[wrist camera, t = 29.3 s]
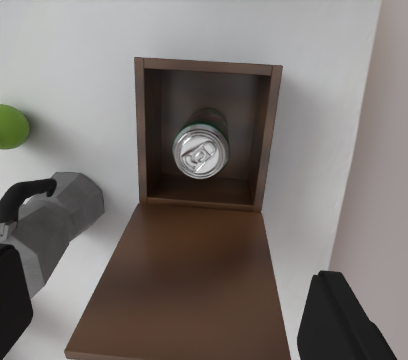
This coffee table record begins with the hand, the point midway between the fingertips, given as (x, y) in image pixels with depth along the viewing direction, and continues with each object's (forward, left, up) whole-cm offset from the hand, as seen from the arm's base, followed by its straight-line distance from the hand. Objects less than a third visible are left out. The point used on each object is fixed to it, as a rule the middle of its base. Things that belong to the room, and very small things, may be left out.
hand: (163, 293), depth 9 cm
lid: (+8, +3, -12) cm, 14 cm away
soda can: (0, 0, -28) cm, 28 cm away
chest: (0, 0, -28) cm, 28 cm away
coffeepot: (+16, -14, -28) cm, 36 cm away
